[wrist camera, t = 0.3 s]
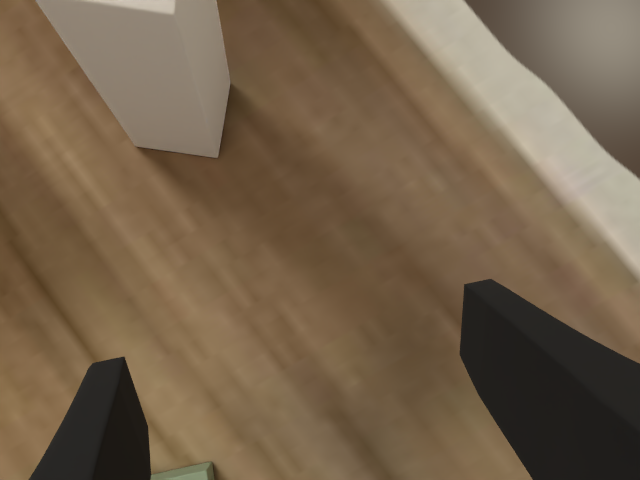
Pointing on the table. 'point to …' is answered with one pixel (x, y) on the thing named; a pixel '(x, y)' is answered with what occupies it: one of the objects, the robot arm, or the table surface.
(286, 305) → the table surface
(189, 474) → the step rack
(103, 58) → the milk
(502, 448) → the table surface
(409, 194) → the table surface
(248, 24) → the table surface
